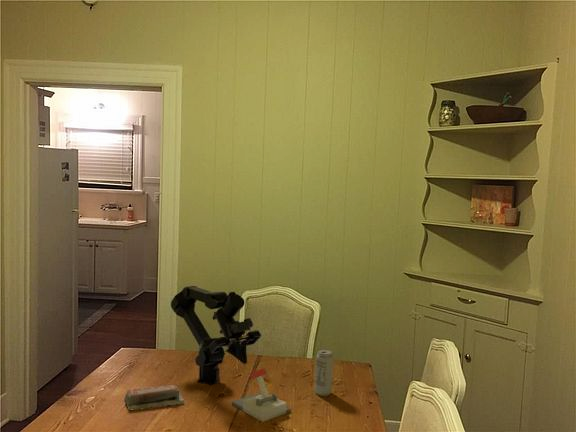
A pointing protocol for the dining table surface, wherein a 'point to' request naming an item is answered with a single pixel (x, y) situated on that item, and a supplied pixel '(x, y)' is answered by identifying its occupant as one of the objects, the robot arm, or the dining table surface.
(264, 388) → the switch lever
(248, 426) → the dining table surface
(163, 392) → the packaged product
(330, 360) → the energy drink can
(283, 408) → the switch panel
